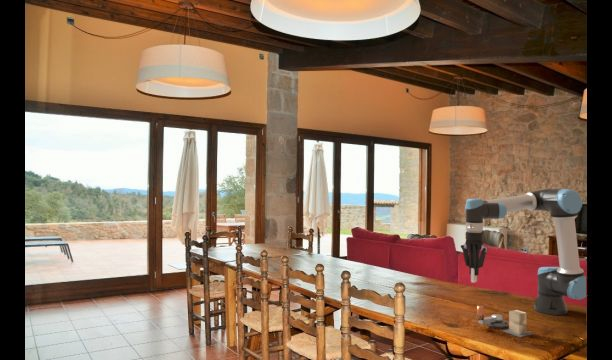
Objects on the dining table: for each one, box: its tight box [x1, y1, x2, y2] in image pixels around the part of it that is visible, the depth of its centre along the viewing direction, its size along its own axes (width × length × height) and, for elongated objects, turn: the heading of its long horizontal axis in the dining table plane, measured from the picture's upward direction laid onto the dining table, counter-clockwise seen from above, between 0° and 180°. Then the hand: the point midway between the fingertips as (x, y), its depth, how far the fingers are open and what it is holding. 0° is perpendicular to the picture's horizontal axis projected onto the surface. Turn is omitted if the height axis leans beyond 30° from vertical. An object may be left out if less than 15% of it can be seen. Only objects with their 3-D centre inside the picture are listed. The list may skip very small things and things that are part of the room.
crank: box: [476, 305, 504, 325], centre depth 207 cm, size 15×5×8 cm, turn 117°
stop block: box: [508, 309, 527, 335], centre depth 199 cm, size 5×5×9 cm
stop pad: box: [502, 328, 534, 338], centre depth 199 cm, size 9×9×1 cm
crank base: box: [486, 319, 509, 330], centre depth 209 cm, size 9×9×2 cm
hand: (473, 281), depth 207 cm, fingers closed
